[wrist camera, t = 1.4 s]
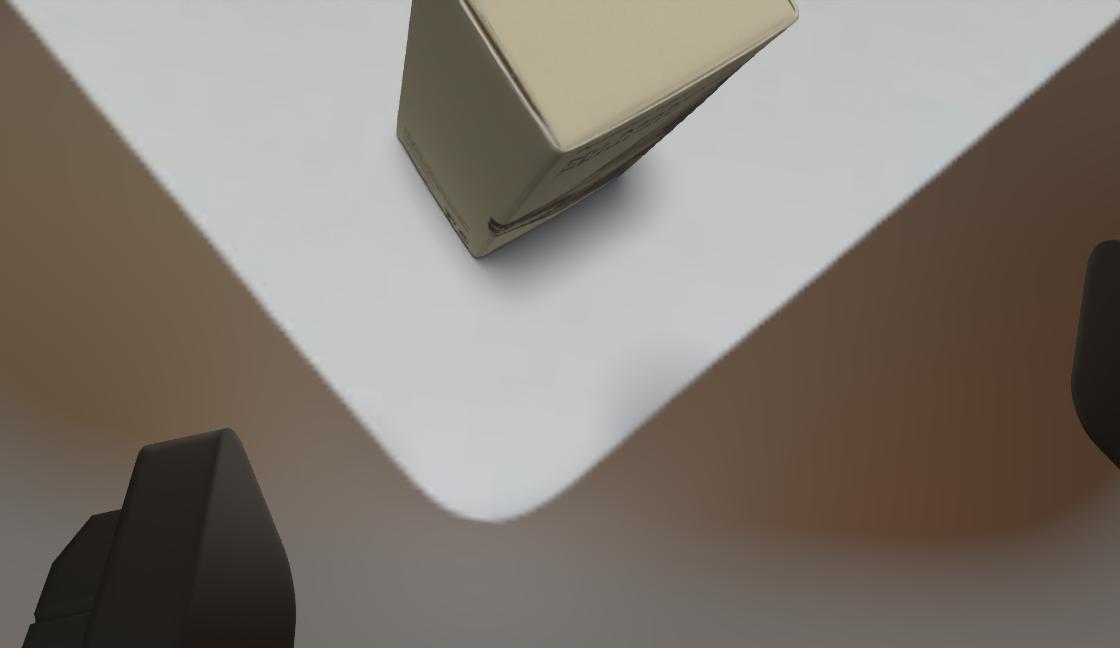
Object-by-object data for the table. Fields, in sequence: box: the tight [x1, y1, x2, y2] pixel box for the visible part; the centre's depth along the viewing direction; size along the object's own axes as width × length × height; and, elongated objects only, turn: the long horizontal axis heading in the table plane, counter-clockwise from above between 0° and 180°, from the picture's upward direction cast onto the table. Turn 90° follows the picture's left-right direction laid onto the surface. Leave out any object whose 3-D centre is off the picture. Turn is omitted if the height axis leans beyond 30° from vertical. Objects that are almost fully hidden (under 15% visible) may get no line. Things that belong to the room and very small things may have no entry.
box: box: [397, 0, 799, 257], centre depth 23 cm, size 5×4×13 cm
